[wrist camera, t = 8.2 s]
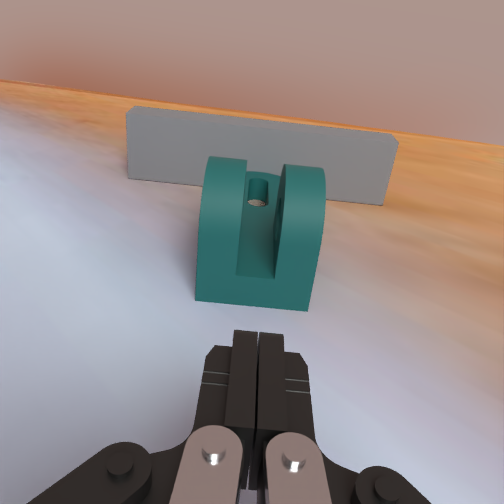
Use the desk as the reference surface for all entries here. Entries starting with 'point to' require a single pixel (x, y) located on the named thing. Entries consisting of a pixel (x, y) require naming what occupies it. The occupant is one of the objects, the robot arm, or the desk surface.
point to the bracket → (259, 235)
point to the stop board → (257, 150)
